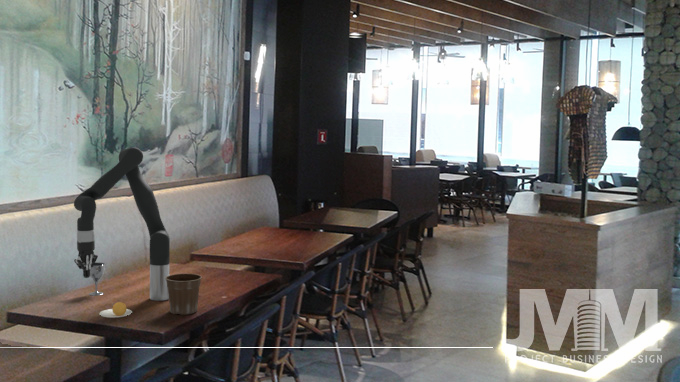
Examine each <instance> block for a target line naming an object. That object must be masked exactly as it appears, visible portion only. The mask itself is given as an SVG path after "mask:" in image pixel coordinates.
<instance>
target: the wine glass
mask: <svg viewBox="0 0 680 382" xmlns="http://www.w3.org/2000/svg"><path fill="white" fill-rule="evenodd" d="M105 266H106V265H105V262H98V261H96V262H95V264H94V266H93V267H91V269H90V277H89V278H91V279H92V281H93V283H94V288H95V289H94V291H93V292H90V293H88V296H96V297H97V296H103V295H105V294H104V292H103V291H99V290H98V285H99V284H98V283H99V281H100V280H101V278H102V277H103V276H104V273H105Z"/></svg>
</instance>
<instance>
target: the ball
mask: <svg viewBox="0 0 680 382" xmlns="http://www.w3.org/2000/svg"><path fill="white" fill-rule="evenodd" d="M111 309H112V311H113V313H114V314H115V315H117V316H121V315H123V314H124V313H125V312H126V309H128V308H127V305H126V303H124V302H122V301H117V302H116V303H114V304H113V306H112V308H111Z"/></svg>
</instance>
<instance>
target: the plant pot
mask: <svg viewBox="0 0 680 382" xmlns="http://www.w3.org/2000/svg"><path fill="white" fill-rule="evenodd" d="M202 278H203V277H202V275H200V274H198V273H197V274H196V273H175V274H169V276H167V277H166V278H165V279H166V281H167V287H168V293H169V299H168V302H169V303H168V304H169V312H170V314H172V315H178V314H179V315H182V316H183V315H184V316H185V315H193V314H195V313H196V312H197V311H198V305H199V292H200V286H201V281H202Z"/></svg>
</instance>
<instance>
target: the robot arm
mask: <svg viewBox="0 0 680 382" xmlns="http://www.w3.org/2000/svg"><path fill="white" fill-rule="evenodd" d="M143 159H144V153H143V152H142V150H141V149H140V148H138V147H131V146H130V147H127V148H124V149H122V150H120V152H119V154H118V162H117V164H115V165H114V166H113V167H112V168H111V169H109V170H108V171H107V172H106V173H104V174H103V175H101V176H100V177H99V178H98V179H97V180H95V182H94V183H93V184H92V185H91V186H90V187H89V188H87V189H86V190H84V191H82V192H81V193H80V194H78V196H76V198H75V199H74V201H73V207H74V209H75V210H76V211H79V212H81V214H80V217H78V218H77V220H76V221H77V222H76V228H77V232H76V250H77V252H78V255H77V258H76V259H74V263H75V264H76V266H77V267H78V269H79V270H82V272H83V273H82V277H83V278H85V279H89V278H91V277H90V269H91V267H93V266H94V264H95V262H97V259H98V258H99V257H98V255H97V254H95V251H94V250H95V248H96V247H95V246H96V245H95V243H96V242H95V239H96V238H95V231H94V230H95V229H94V227H95V226H94V220H95V217H96V211H97V202H96V200H101V199H102V198H103V197H104V196H105V195H107V193H108V192H110V191H111V190H112V188H113V187H114V186H115V185H116V184H117V183H119V181H121V179H123V177H125V176H126V180H127V182H128V184H129V187H130V190H131V193H132V195H133V199H134V203H135V204H136V206H137V207H136V208H137V209H138V212H139V213H140V215H141V218H143V220H144V222H145V224H146V227H147V231H148V233H149V300H152V301H167V300H168V301H169V293H168V287H167V281H166V279H165V278H166V277H167V276H169V275H170V256H171V255H170V246H171V245H170V243H171V242H170V236H169V233H168V231H167V229H166V228H165V225H164V223H163V221H162V217H161V215H160V210H159V206H158V203H157V202H158V201H157V200H156V197H155V194H154V191H153V189H152V187H151V186H150V184H149V183H148V182H147V181H146V179H145V178H144V177H143V175H142V173H141V170H140V165H141V163H142V162H143Z"/></svg>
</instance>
